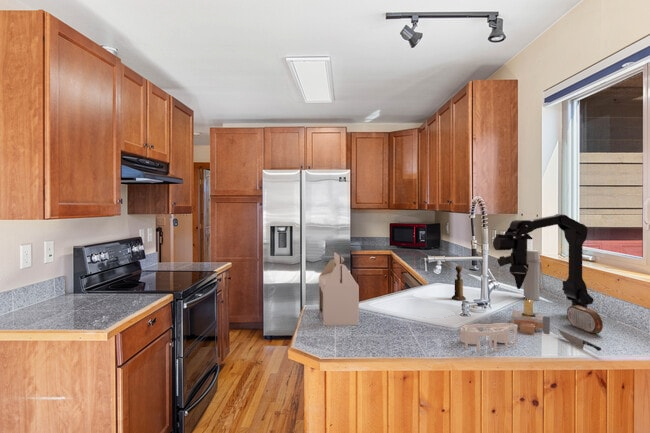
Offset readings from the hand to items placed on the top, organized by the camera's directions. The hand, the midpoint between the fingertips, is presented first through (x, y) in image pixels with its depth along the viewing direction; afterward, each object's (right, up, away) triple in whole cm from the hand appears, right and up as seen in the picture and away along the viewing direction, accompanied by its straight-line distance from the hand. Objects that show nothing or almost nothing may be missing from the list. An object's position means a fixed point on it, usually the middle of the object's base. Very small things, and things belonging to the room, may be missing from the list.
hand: (519, 287), depth 158 cm
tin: (+16, -14, -16) cm, 26 cm away
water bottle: (+24, -13, +32) cm, 42 cm away
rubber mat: (0, -13, -8) cm, 15 cm away
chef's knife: (+2, -14, -34) cm, 36 cm away
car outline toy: (-28, -14, -35) cm, 47 cm away
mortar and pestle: (-16, -13, +28) cm, 35 cm away
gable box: (-77, -14, -8) cm, 79 cm away
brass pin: (-3, -13, -13) cm, 18 cm away
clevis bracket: (-5, -13, -15) cm, 21 cm away
